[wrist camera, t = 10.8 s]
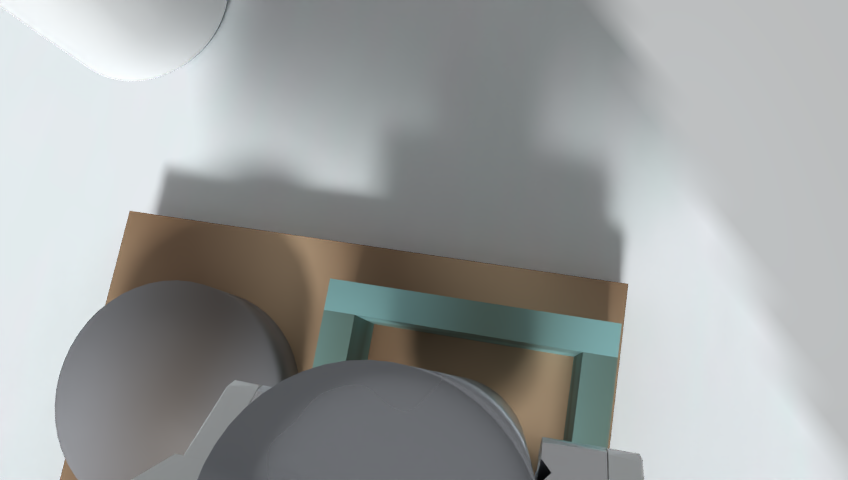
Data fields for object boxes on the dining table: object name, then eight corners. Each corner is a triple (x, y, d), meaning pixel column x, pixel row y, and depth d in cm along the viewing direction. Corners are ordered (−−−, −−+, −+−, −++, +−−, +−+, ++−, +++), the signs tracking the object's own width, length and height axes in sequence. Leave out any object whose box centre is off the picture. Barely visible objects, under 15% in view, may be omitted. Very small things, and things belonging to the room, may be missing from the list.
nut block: (56, 612, 20) (-52, 664, 16) (154, 222, 23) (80, 187, 19) (567, 740, 18) (583, 836, 14) (619, 291, 20) (645, 268, 16)
